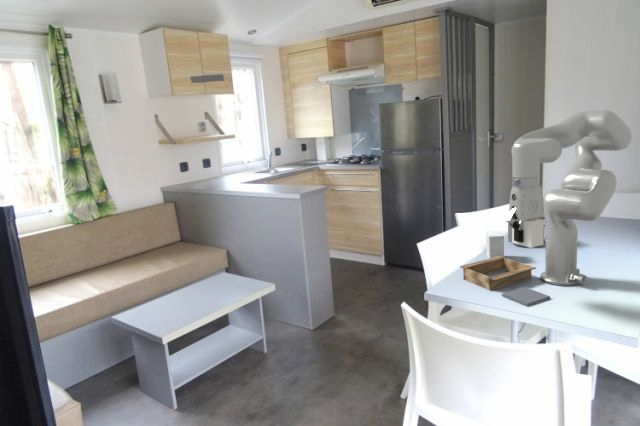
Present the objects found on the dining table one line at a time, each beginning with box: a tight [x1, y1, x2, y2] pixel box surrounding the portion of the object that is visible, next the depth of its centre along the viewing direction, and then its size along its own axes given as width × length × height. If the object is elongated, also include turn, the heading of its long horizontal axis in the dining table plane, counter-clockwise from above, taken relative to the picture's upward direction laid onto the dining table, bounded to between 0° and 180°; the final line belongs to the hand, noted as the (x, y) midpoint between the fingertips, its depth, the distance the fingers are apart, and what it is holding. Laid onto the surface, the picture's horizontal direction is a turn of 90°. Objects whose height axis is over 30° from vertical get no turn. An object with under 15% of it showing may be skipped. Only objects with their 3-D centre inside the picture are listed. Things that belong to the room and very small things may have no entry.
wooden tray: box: [459, 256, 537, 291], centre depth 161 cm, size 17×19×4 cm
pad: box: [501, 286, 551, 307], centre depth 144 cm, size 10×10×1 cm
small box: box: [485, 230, 505, 259], centre depth 182 cm, size 8×6×10 cm
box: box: [507, 218, 545, 249], centre depth 140 cm, size 9×5×8 cm, turn 24°
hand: (525, 239), depth 141 cm, fingers closed on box, 5 cm apart
